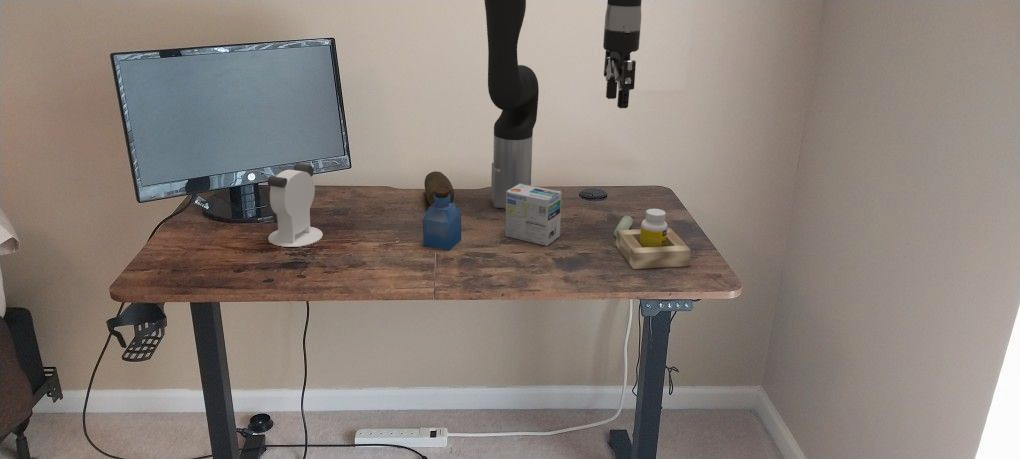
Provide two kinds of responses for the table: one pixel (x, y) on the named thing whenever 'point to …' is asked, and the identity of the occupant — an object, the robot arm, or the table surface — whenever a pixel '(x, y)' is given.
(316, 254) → the table surface
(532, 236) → the light bulb box
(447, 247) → the perfume bottle
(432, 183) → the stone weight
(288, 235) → the headphone stand
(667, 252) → the socket block
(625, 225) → the lying dowel
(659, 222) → the supplement bottle
